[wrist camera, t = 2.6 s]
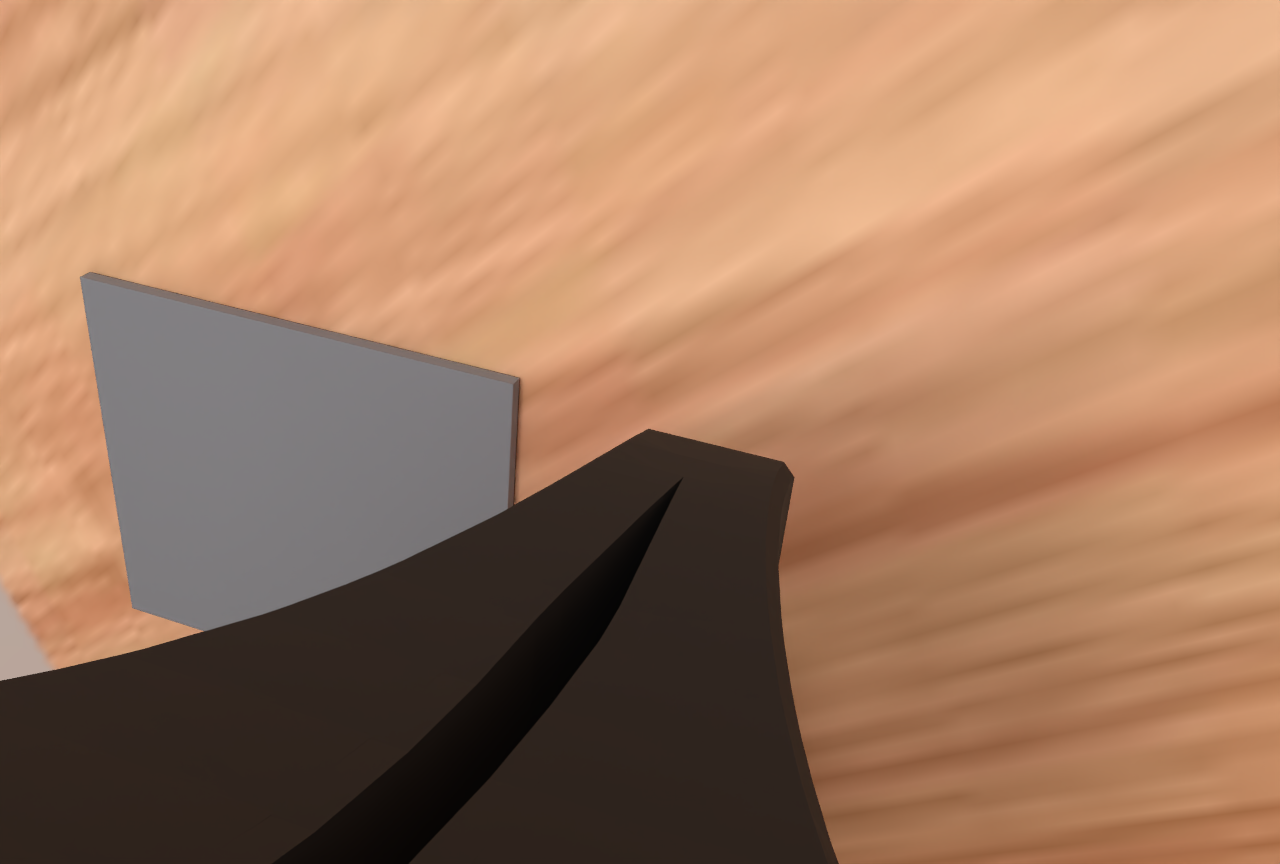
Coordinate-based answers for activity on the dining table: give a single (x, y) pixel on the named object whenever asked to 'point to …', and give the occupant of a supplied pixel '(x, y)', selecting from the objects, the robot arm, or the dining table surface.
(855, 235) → the dining table surface
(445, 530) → the rubber mat
